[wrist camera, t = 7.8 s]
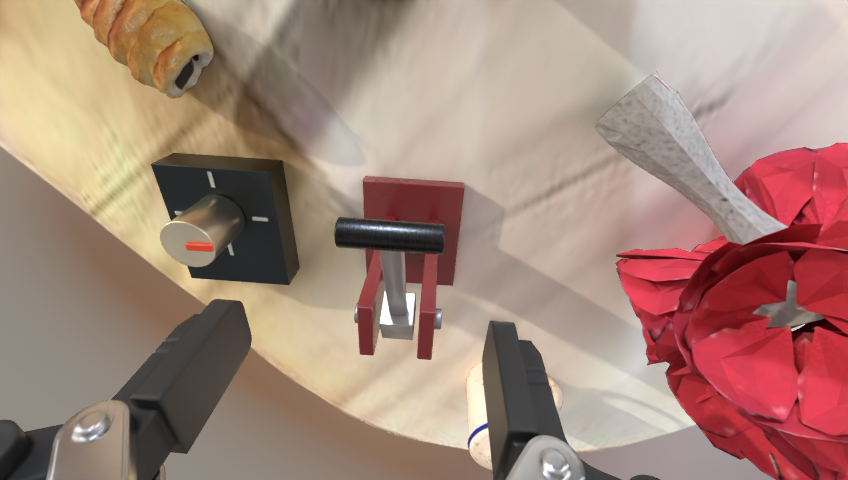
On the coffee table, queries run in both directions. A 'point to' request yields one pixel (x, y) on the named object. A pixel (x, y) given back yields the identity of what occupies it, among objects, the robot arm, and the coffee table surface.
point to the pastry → (152, 40)
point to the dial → (203, 230)
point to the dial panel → (260, 203)
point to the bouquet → (746, 290)
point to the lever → (392, 262)
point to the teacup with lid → (478, 415)
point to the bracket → (409, 205)
